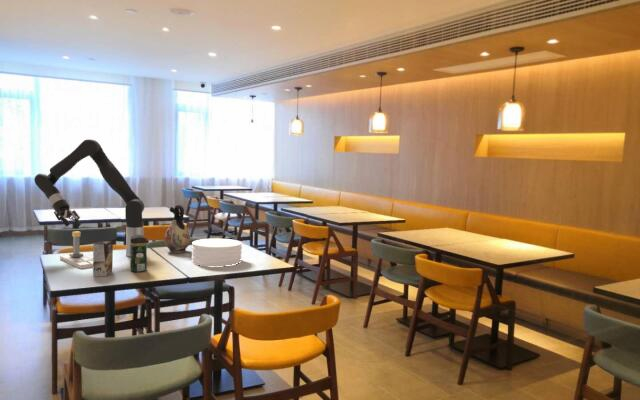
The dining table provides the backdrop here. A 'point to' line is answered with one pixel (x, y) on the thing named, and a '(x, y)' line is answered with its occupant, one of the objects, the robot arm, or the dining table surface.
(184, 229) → the ceramic jug
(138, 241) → the coffee jar
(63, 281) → the dining table surface
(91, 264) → the beige flat slab
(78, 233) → the yellow capped tube
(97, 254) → the coffee box
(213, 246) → the plate stack
